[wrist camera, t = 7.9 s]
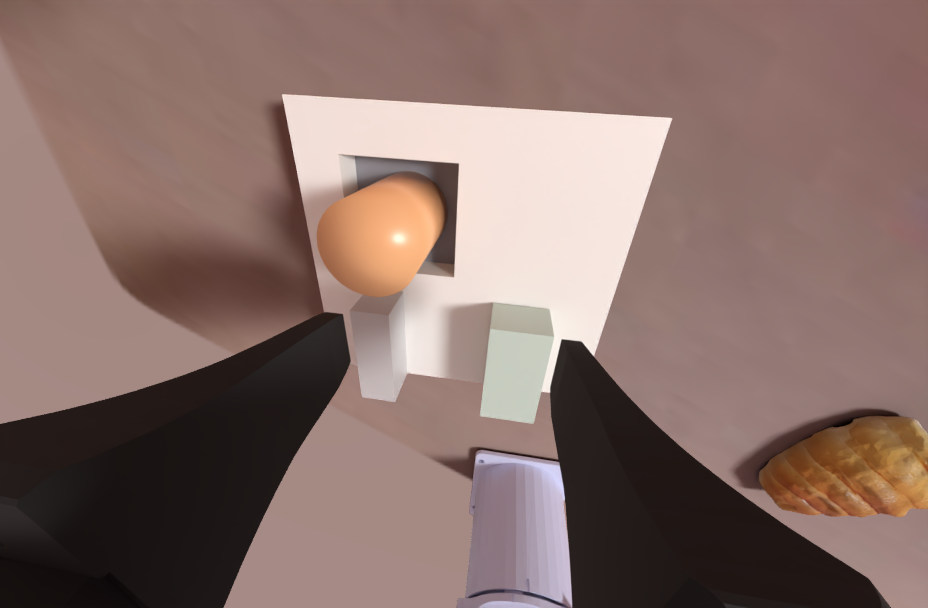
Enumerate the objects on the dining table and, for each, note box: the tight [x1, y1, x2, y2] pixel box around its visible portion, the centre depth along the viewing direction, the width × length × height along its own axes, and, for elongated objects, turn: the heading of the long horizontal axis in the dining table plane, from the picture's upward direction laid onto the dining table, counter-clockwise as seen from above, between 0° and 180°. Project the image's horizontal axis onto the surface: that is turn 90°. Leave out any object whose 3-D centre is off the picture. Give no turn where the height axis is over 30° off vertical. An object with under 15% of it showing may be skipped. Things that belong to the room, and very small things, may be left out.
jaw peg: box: [317, 171, 448, 297], centre depth 15 cm, size 4×4×6 cm
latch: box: [480, 303, 554, 424], centre depth 18 cm, size 6×3×2 cm, turn 177°
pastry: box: [759, 416, 928, 517], centre depth 21 cm, size 9×7×4 cm
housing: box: [282, 94, 672, 402], centre depth 17 cm, size 15×16×4 cm
